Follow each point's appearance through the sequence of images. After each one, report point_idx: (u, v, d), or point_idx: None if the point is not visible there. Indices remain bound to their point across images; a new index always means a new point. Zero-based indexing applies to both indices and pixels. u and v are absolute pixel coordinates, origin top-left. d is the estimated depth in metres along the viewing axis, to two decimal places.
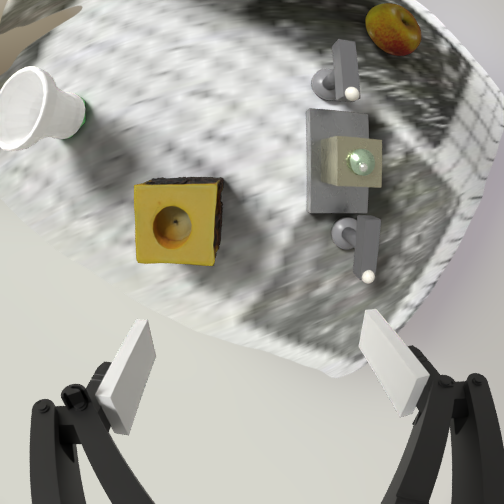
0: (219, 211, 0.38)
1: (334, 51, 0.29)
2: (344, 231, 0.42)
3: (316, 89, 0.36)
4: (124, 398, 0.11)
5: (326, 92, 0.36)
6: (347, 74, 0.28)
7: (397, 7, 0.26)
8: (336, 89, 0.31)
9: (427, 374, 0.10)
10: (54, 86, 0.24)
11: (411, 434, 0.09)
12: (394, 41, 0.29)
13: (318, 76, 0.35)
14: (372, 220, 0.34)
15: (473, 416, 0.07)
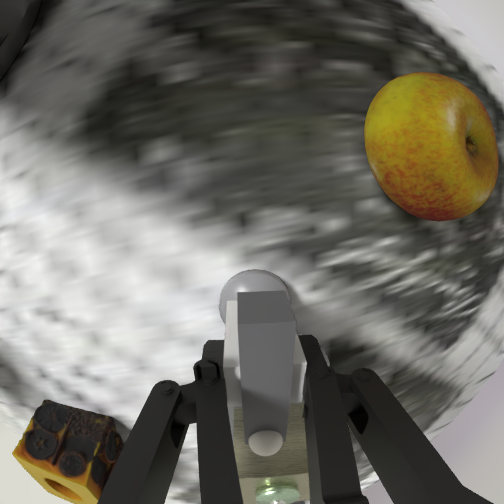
0: (111, 462, 0.22)
1: None
2: None
3: None
4: None
5: None
6: (257, 411, 0.12)
7: (461, 100, 0.10)
8: None
9: (303, 362, 0.12)
10: None
11: (306, 430, 0.11)
12: (432, 209, 0.13)
13: (230, 295, 0.19)
14: None
15: (375, 416, 0.09)
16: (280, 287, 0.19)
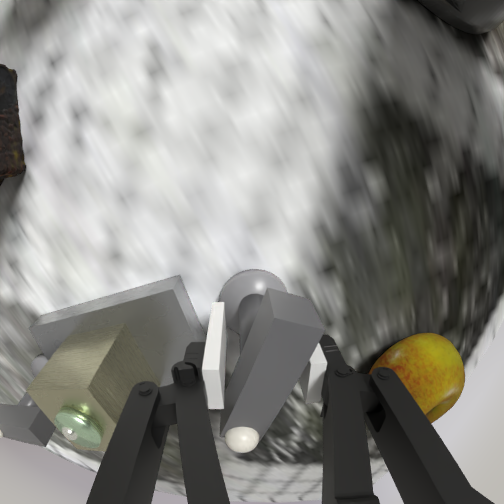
0: None
1: (260, 313, 0.13)
2: None
3: None
4: (221, 372, 0.13)
5: None
6: (250, 406, 0.12)
7: (458, 392, 0.16)
8: (227, 390, 0.15)
9: (324, 361, 0.12)
10: None
11: (323, 428, 0.11)
12: None
13: (236, 288, 0.20)
14: (35, 436, 0.14)
15: (392, 414, 0.09)
16: None
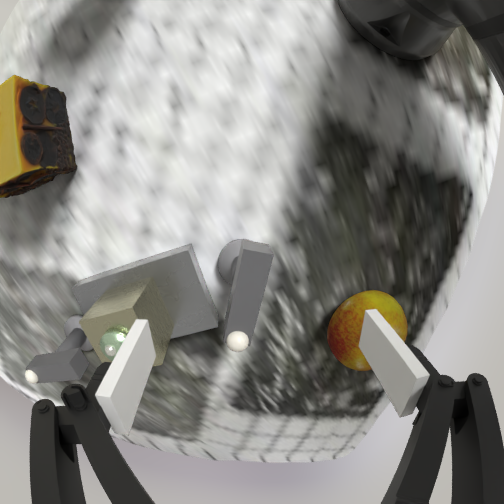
0: (30, 182, 0.23)
1: (239, 254, 0.23)
2: (76, 332, 0.30)
3: (221, 271, 0.30)
4: (124, 398, 0.11)
5: None
6: (239, 312, 0.22)
7: (400, 334, 0.26)
8: (226, 313, 0.24)
9: (427, 374, 0.10)
10: None
11: (411, 434, 0.09)
12: (342, 340, 0.28)
13: (228, 252, 0.29)
14: (73, 370, 0.23)
15: (473, 416, 0.07)
16: None
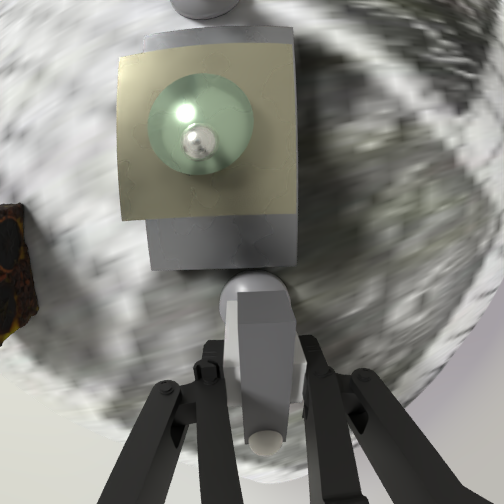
0: None
1: None
2: None
3: (204, 11, 0.14)
4: None
5: None
6: None
7: None
8: None
9: (303, 362, 0.12)
10: None
11: (306, 430, 0.11)
12: None
13: None
14: (263, 326, 0.11)
15: (375, 416, 0.09)
16: None
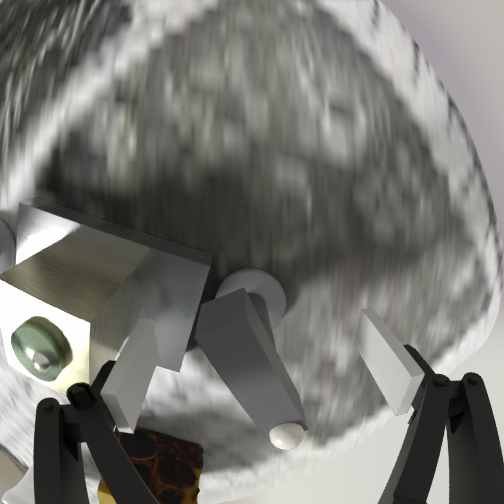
0: (149, 460, 0.22)
1: None
2: None
3: (8, 255, 0.18)
4: (129, 396, 0.11)
5: (0, 240, 0.17)
6: None
7: None
8: None
9: (422, 373, 0.10)
10: (17, 498, 0.16)
11: (407, 433, 0.09)
12: None
13: None
14: (217, 332, 0.11)
15: (469, 415, 0.07)
16: None
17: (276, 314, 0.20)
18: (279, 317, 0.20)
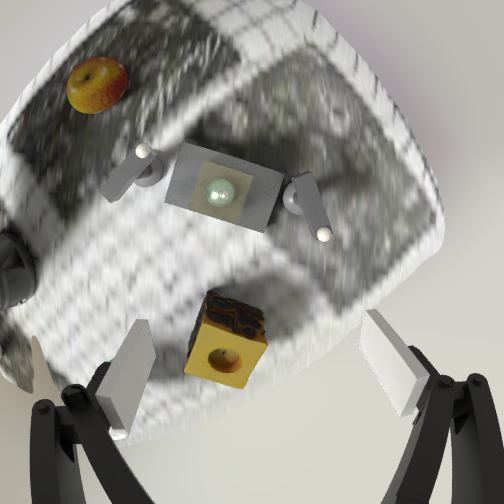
0: (231, 311, 0.43)
1: (121, 194, 0.34)
2: (294, 197, 0.41)
3: (159, 173, 0.40)
4: (124, 398, 0.11)
5: (154, 165, 0.39)
6: (131, 168, 0.31)
7: (70, 82, 0.28)
8: (149, 163, 0.33)
9: (427, 374, 0.10)
10: None
11: (411, 434, 0.09)
12: (107, 94, 0.31)
13: (148, 183, 0.40)
14: (302, 176, 0.32)
15: (473, 416, 0.07)
16: None
17: None
18: None
